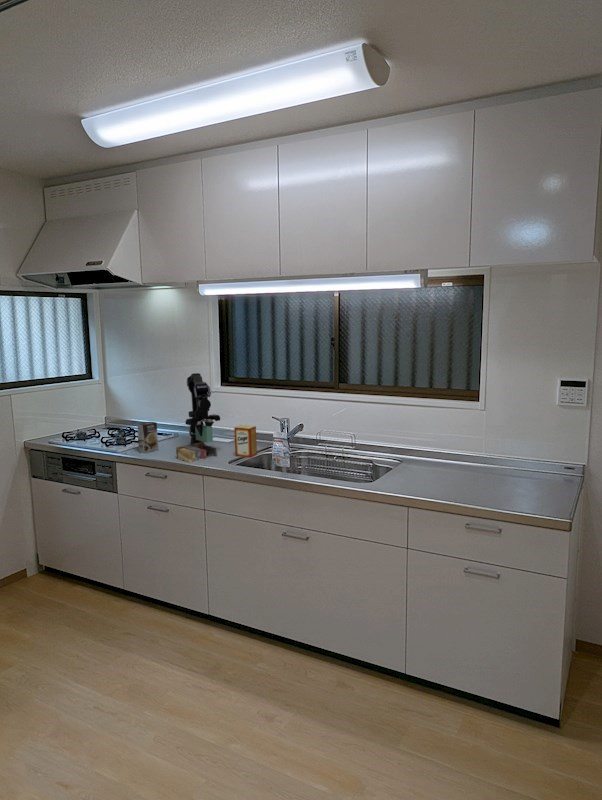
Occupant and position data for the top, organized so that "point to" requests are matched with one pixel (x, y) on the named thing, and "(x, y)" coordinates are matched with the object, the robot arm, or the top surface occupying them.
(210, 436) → the green book
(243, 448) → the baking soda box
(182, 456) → the book rack
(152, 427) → the coffee box
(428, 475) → the top surface
